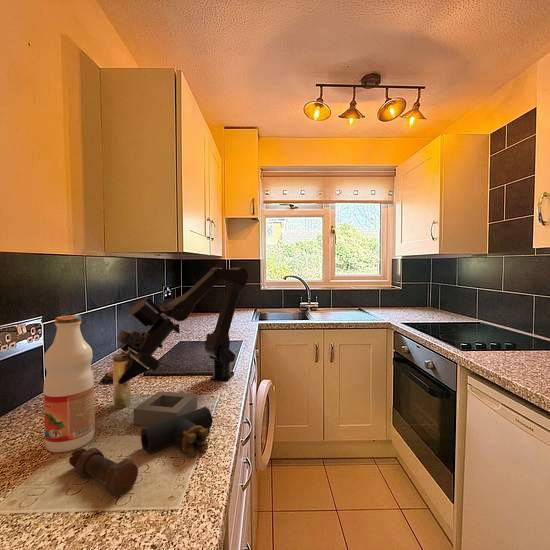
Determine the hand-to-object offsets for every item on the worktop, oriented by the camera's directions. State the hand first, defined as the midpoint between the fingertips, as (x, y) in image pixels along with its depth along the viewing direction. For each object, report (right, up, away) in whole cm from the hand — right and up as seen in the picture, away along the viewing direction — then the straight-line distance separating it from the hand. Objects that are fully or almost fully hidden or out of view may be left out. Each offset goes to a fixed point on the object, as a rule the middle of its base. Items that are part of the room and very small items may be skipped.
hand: (116, 381), depth 89 cm
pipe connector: (+24, -8, -19) cm, 32 cm away
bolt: (+12, -8, -30) cm, 33 cm away
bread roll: (-11, -7, +22) cm, 26 cm away
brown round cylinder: (+1, -7, +1) cm, 7 cm away
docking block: (+16, -7, -6) cm, 19 cm away
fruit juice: (-2, -8, -18) cm, 19 cm away
